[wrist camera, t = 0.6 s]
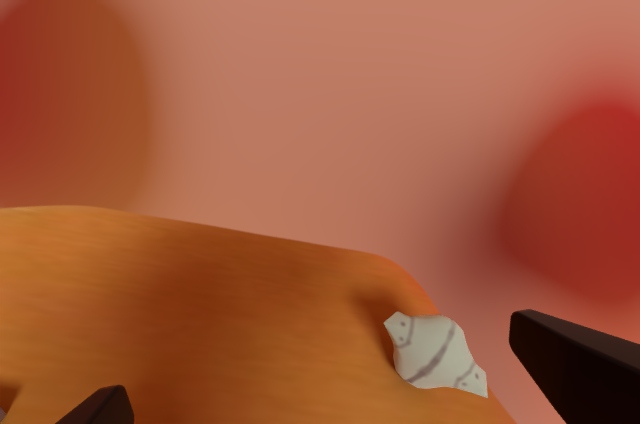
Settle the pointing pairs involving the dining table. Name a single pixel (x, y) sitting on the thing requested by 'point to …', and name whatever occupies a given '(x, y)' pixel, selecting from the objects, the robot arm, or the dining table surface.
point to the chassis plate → (2, 414)
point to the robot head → (434, 353)
